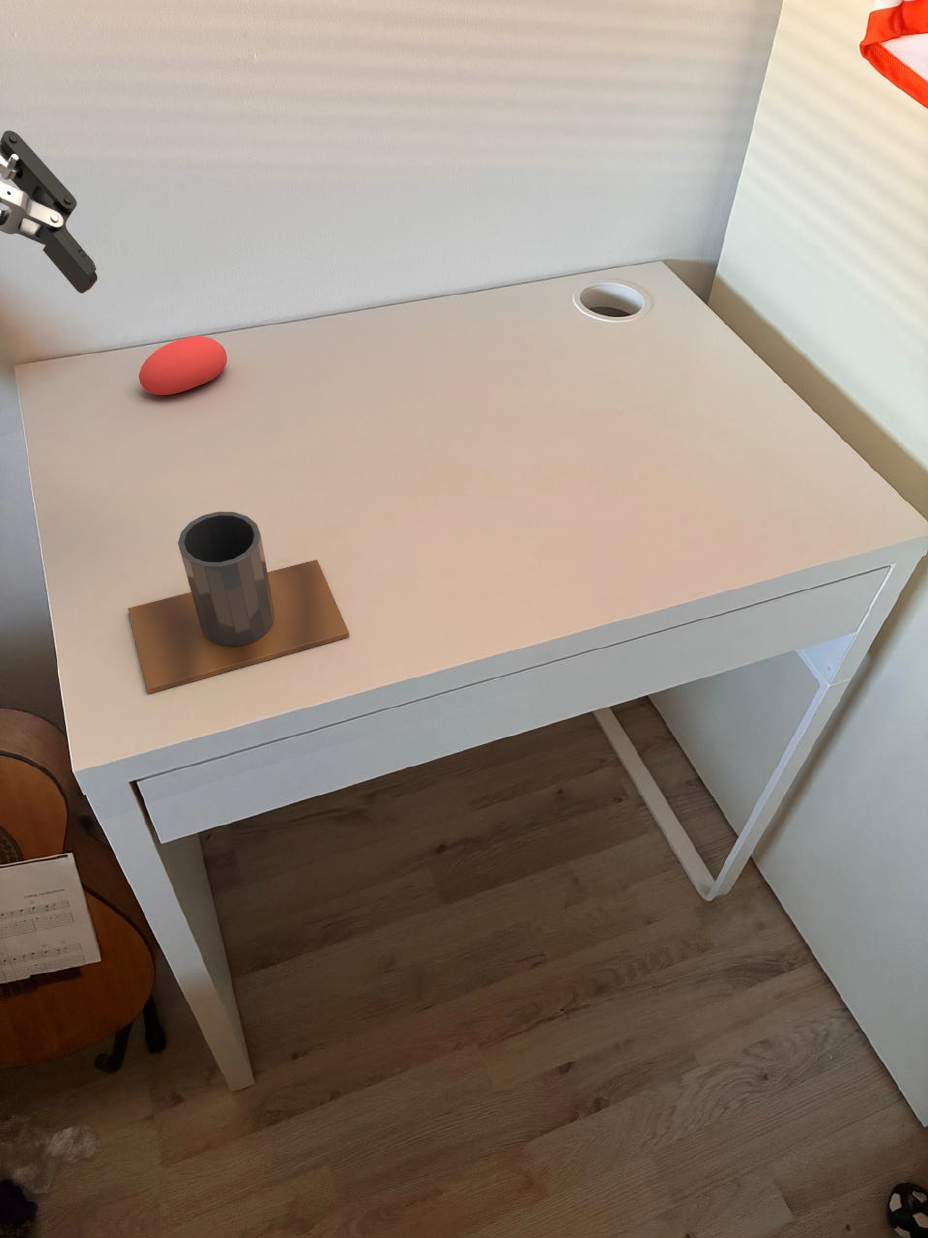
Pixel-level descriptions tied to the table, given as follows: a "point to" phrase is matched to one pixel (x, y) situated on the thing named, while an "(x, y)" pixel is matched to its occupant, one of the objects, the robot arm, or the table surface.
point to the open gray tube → (228, 577)
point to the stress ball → (182, 365)
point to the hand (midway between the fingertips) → (43, 313)
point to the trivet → (188, 655)
